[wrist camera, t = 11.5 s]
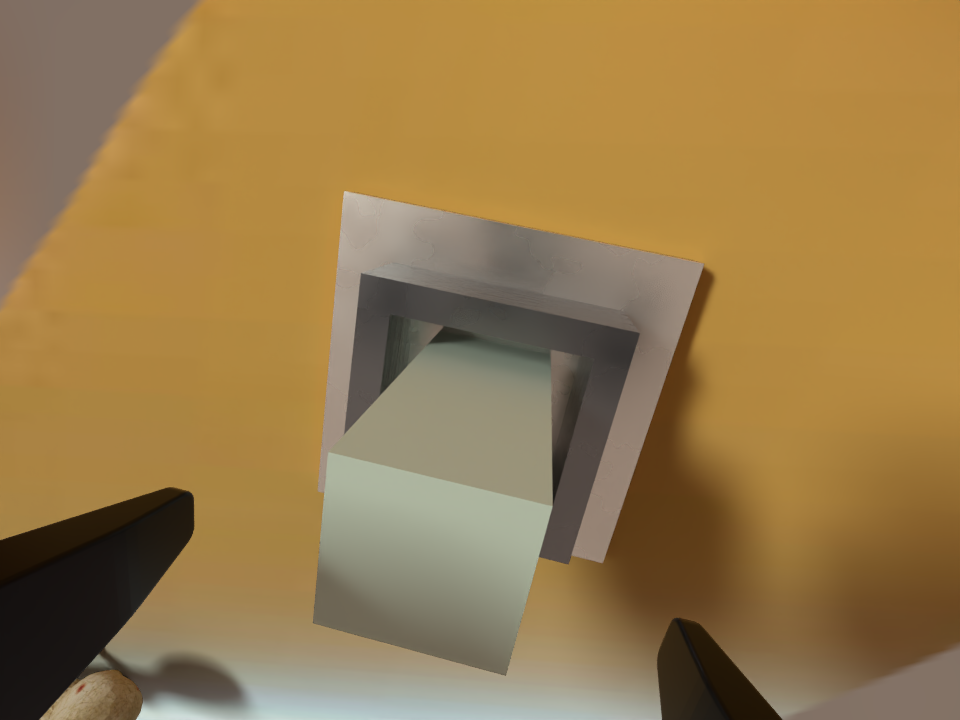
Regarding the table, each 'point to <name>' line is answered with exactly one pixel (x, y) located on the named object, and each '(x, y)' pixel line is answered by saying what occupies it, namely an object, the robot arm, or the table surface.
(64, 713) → the figurine
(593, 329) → the bracket
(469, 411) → the rail post
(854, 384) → the table surface
